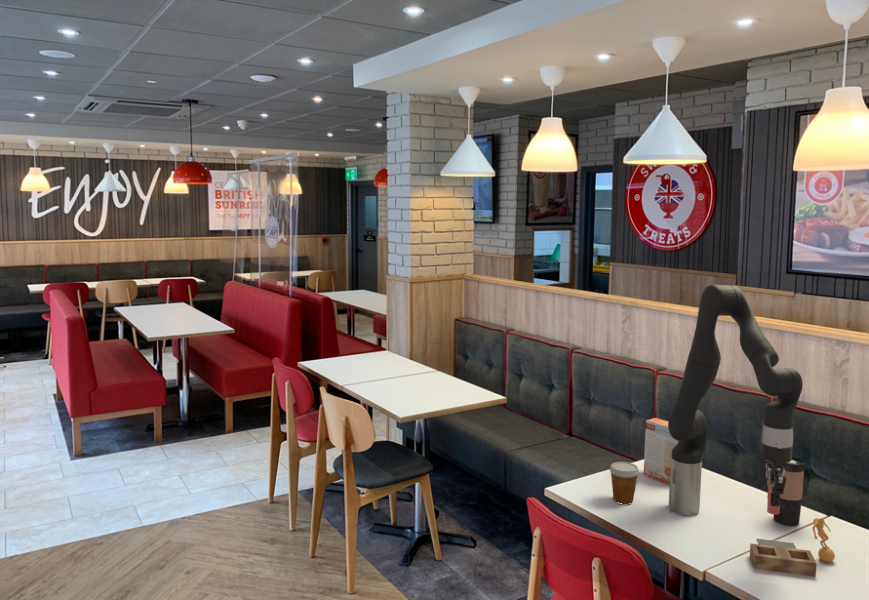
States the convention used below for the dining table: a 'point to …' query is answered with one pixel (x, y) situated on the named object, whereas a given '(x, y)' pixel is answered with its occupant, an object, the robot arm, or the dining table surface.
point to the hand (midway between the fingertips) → (773, 502)
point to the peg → (770, 508)
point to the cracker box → (658, 450)
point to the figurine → (823, 541)
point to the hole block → (783, 559)
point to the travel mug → (791, 494)
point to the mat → (776, 543)
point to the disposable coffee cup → (623, 481)
